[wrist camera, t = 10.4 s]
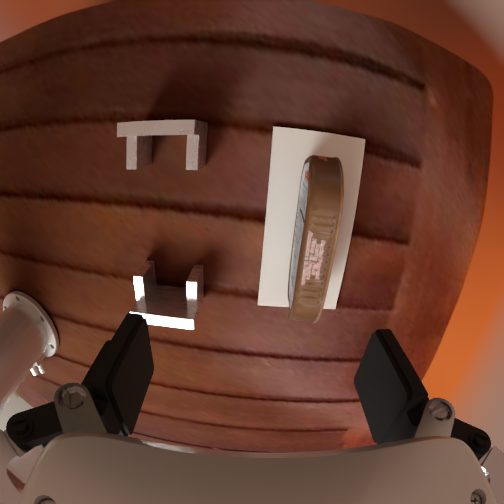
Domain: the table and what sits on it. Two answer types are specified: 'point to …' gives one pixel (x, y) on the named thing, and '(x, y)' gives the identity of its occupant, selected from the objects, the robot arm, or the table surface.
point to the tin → (315, 236)
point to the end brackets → (147, 291)
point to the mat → (286, 200)
